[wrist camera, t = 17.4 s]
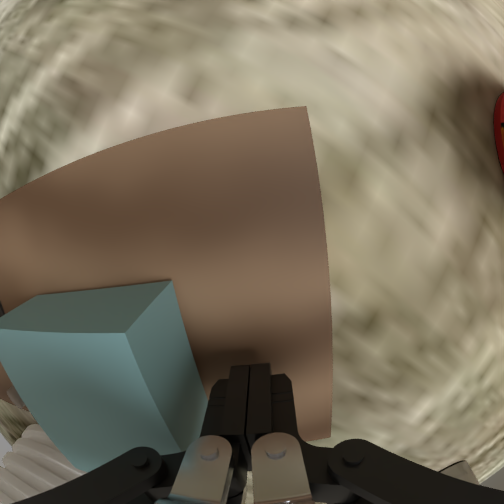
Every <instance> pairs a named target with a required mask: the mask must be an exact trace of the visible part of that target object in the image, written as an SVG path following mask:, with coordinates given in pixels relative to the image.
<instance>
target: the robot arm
mask: <svg viewBox="0 0 504 504" xmlns="http://www.w3.org/2000/svg"><path fill="white" fill-rule="evenodd" d="M247 471H252V477H253V494H254V504H315V502H323V503H327V504H504V491H501V490H497V489H493V488H489V487H484V486H481V485H480V484H479V482H478V480H477V478H476V476H475V475H474V473H473V471H472V469H471V468H470V466H469V464H468V462H467V461H463V462H460V463H457V464H455V465H453V466H451V467H449V468H447V469H445V470H443V471H442V472H437V471H434V470H432V469H429V468H427V467H424V466H422V465H419V464H417V463H414V462H412V461H409V460H407V459H405V458H403V457H400V456H398V455H396V454H394V453H391V452H389V451H387V450H385V449H383V448H381V447H379V446H377V445H375V444H373V443H371V442H369V441H366V440H362V439H349V440H345V441H343V442H341V443H339V444H337V445H336V446H335V447H334V448H326V447H317V446H313V445H310V444H308V443H306V442H305V441H304V440H302V438H301V437H300V436H299V433H298V428H297V420H296V412H295V404H294V396H293V389H292V381H291V380H290V379H289V378H288V376H287V375H286V374H285V373H283V374H275V375H272V371H271V365H270V362H268V363H259V364H251V365H250V364H249V365H237V366H231V368H230V373H229V379H218V381H217V382H216V383H215V384H214V385H213V387H212V388H211V392H210V396H209V400H208V404H207V408H206V412H205V417H204V421H203V425H202V429H201V433H200V437H199V438H197V439H196V440H194V441H193V442H192V443H191V444H190V445H189V446H188V448H187V450H185V451H183V452H179V453H174V454H167V455H160V454H159V453H158V452H157V451H156V450H155V449H153V448H150V447H145V446H141V447H136V448H133V449H131V450H129V451H127V452H125V453H124V454H122V455H120V456H118V457H116V458H115V459H113V460H111V461H109V462H107V463H105V464H103V465H102V466H100V467H98V468H96V469H94V470H92V471H90V472H88V473H86V474H84V475H82V476H79V477H77V478H75V479H73V480H71V481H69V482H66V483H64V484H62V485H60V486H57V487H55V488H53V489H50V490H48V491H45V492H43V493H40V494H37V495H35V496H32V497H29V498H26V499H24V500H21V501H18V502H14V503H11V504H245V499H246V493H247V484H246V483H247Z"/></svg>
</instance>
